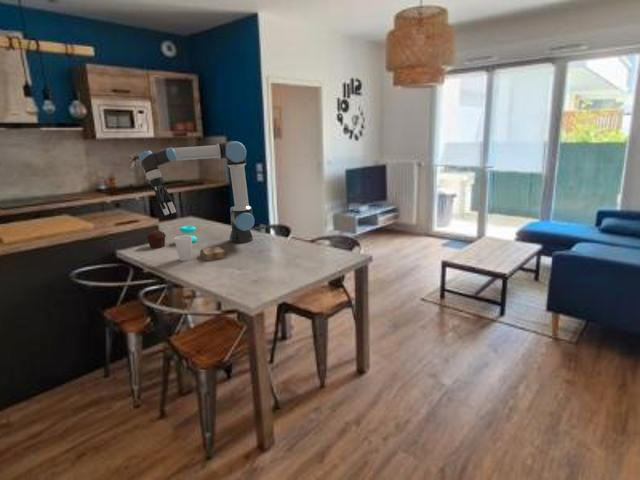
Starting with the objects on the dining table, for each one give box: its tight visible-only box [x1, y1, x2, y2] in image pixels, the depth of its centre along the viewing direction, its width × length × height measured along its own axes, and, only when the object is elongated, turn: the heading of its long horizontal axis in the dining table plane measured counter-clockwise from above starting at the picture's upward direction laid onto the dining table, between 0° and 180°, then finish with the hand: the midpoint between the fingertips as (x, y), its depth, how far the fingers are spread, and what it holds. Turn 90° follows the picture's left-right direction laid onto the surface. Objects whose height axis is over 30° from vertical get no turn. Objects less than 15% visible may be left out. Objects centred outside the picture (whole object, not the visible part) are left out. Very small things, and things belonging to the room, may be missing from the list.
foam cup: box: [174, 234, 193, 262], centre depth 234 cm, size 10×9×13 cm
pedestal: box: [199, 246, 227, 262], centre depth 239 cm, size 12×12×4 cm
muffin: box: [146, 230, 167, 249], centre depth 261 cm, size 12×11×10 cm
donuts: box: [179, 225, 198, 244], centre depth 271 cm, size 10×10×10 cm
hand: (170, 213), depth 235 cm, fingers open, 13 cm apart
